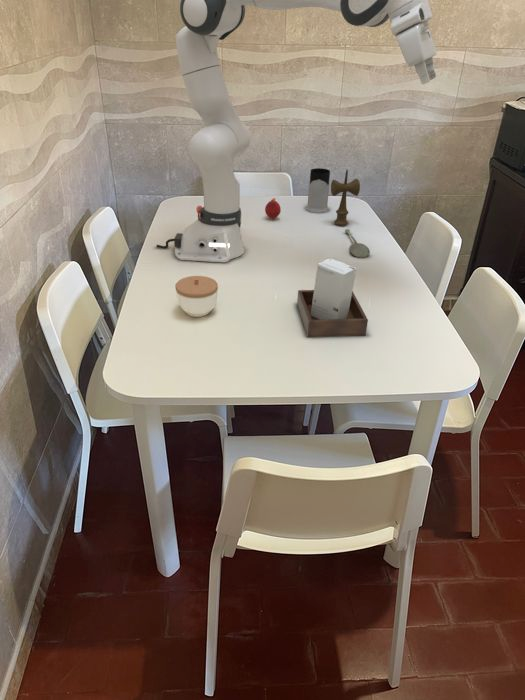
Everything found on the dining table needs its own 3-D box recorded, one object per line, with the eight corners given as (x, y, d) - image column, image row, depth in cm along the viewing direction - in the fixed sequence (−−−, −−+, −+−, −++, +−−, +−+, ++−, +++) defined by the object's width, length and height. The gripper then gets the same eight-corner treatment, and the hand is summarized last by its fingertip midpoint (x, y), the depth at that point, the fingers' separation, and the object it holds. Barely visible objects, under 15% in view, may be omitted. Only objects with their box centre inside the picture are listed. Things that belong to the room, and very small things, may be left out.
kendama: (355, 226, 196) (363, 171, 185) (330, 227, 194) (336, 172, 183) (350, 221, 201) (357, 167, 190) (326, 222, 199) (331, 167, 188)
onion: (278, 222, 197) (279, 201, 192) (263, 221, 198) (264, 199, 193) (281, 217, 202) (282, 196, 197) (266, 216, 203) (267, 195, 198)
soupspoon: (350, 259, 172) (370, 260, 172) (352, 250, 170) (372, 251, 170) (338, 232, 189) (356, 233, 190) (339, 223, 188) (357, 224, 188)
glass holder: (305, 211, 208) (307, 172, 200) (308, 200, 220) (311, 163, 212) (327, 213, 207) (331, 174, 199) (329, 202, 219) (333, 165, 210)
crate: (307, 337, 130) (308, 321, 127) (296, 304, 143) (298, 290, 141) (365, 335, 131) (368, 319, 129) (349, 303, 145) (351, 289, 142)
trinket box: (185, 325, 133) (183, 291, 128) (171, 306, 141) (169, 274, 135) (224, 316, 137) (224, 283, 132) (208, 298, 145) (207, 267, 140)
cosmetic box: (310, 316, 137) (314, 263, 129) (323, 308, 141) (328, 256, 133) (337, 328, 133) (343, 273, 125) (350, 319, 137) (357, 266, 129)
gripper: (406, 25, 131) (423, 82, 136) (388, 27, 115) (408, 92, 120) (432, 12, 128) (448, 70, 132) (416, 12, 112) (436, 79, 116)
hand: (429, 81), depth 126 cm, fingers open, 8 cm apart
